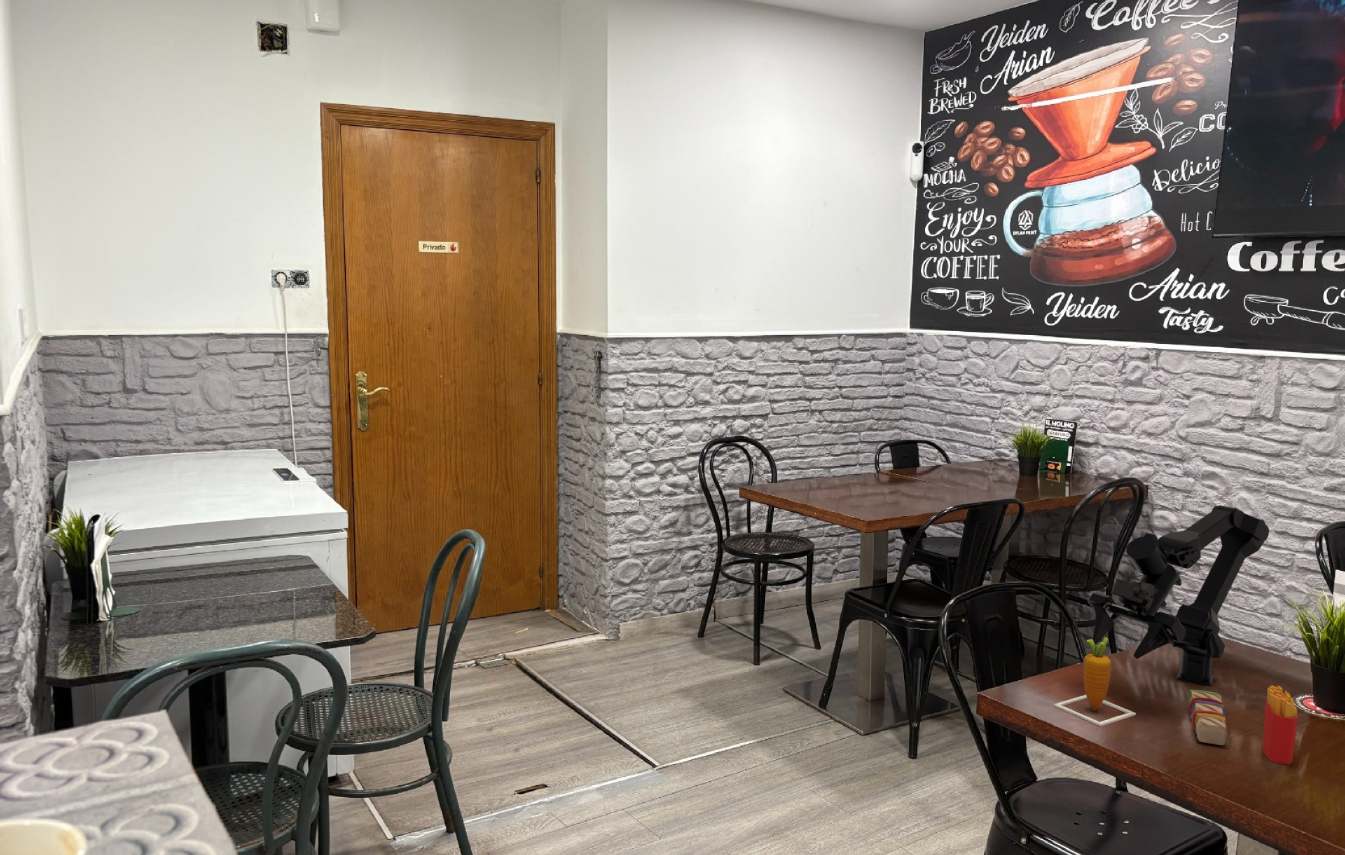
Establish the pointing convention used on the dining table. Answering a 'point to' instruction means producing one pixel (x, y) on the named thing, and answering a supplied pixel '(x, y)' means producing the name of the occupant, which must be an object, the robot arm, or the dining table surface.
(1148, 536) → the robot arm
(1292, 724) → the french fries
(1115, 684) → the dining table surface
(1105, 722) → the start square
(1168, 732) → the dining table surface
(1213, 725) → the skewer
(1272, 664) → the dining table surface
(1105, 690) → the carrot
